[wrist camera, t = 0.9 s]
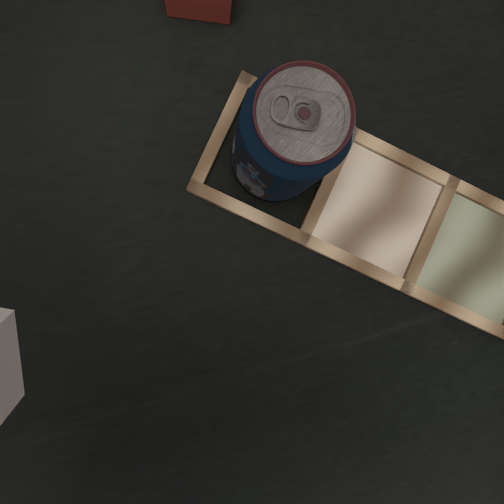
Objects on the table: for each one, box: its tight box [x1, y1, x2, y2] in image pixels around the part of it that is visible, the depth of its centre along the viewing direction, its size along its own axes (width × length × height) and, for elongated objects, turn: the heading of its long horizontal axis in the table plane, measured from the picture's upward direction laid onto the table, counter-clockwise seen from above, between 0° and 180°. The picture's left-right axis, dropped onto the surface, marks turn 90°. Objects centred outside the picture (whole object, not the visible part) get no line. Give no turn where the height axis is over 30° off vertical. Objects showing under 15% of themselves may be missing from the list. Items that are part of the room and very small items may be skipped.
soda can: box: [231, 61, 356, 201], centre depth 30 cm, size 7×7×12 cm
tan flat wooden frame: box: [186, 70, 504, 340], centre depth 36 cm, size 30×10×1 cm, turn 66°
